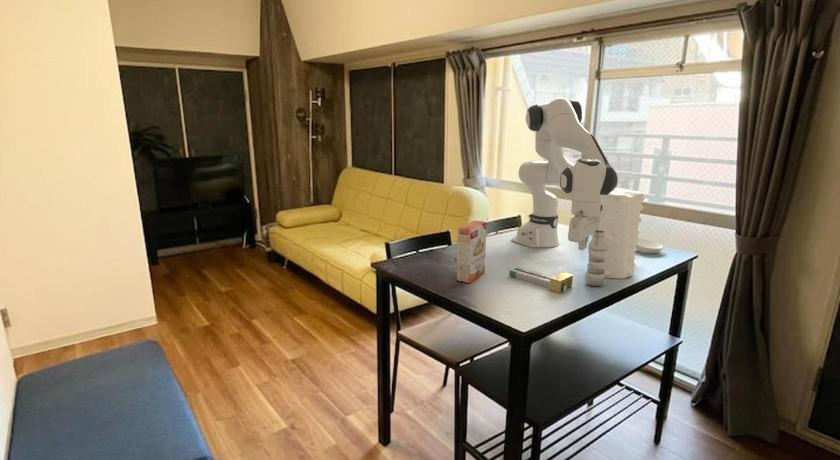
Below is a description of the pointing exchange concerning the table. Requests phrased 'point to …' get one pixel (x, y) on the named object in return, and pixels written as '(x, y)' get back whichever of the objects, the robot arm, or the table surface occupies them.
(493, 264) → the table surface
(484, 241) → the cracker box
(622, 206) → the white bumpy sculpture
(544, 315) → the table surface
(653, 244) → the spoon rest
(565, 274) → the lock collar
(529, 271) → the tong arm
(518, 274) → the green-tipped wooden stick
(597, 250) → the plastic bottle
